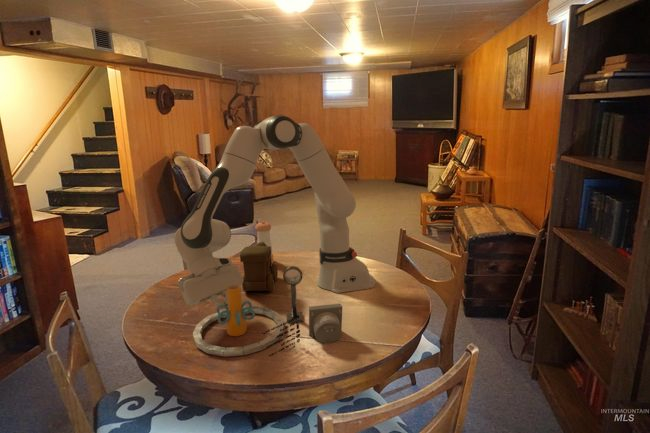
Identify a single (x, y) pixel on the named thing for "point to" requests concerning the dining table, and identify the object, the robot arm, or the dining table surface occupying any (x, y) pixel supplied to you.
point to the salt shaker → (264, 234)
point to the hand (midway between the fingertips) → (224, 306)
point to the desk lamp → (293, 291)
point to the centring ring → (238, 350)
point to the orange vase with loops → (235, 312)
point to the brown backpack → (258, 268)
